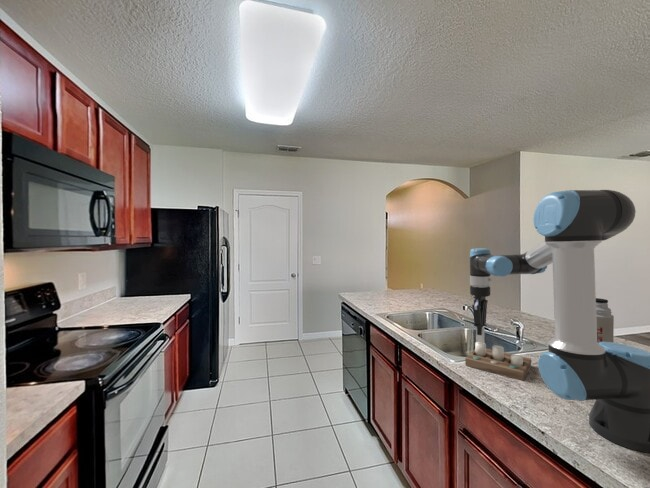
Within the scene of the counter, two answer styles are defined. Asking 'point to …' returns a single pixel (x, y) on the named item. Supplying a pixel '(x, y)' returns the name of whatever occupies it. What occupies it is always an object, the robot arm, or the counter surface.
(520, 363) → the button
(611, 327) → the thermos bottle
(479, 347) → the white rounded cylinder
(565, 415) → the counter surface
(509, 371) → the button board
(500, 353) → the button
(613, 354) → the robot arm
